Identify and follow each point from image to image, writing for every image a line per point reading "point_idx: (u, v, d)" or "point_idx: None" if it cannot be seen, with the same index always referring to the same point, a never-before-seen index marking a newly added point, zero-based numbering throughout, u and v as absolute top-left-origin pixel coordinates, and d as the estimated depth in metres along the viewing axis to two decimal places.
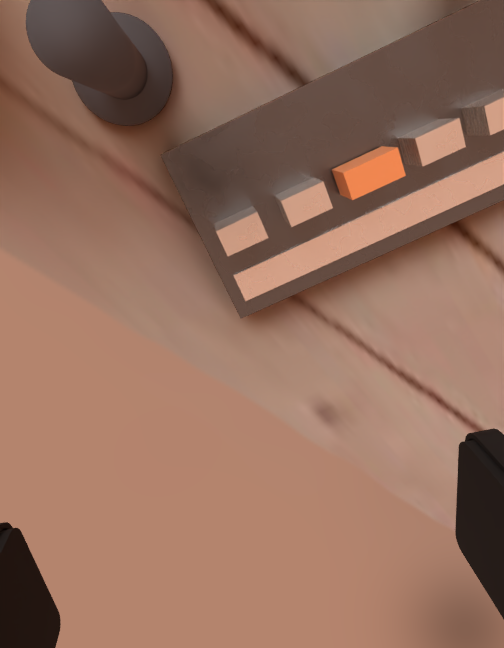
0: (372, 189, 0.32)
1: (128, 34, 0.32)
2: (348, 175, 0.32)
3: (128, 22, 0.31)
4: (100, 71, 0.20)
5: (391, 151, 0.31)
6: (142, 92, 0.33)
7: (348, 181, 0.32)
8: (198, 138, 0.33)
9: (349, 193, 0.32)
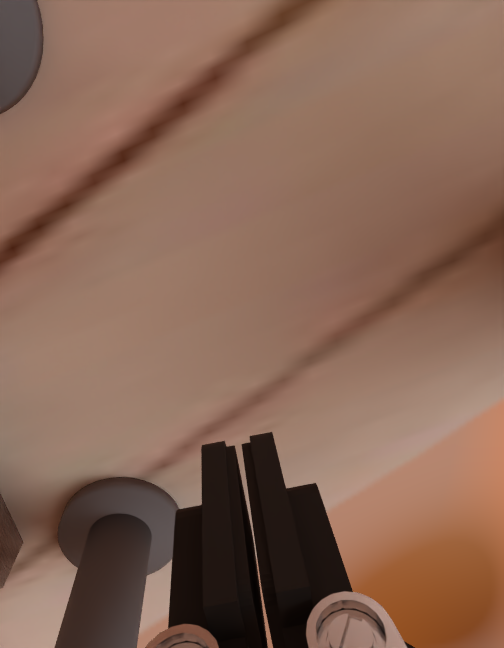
0: None
1: None
2: None
3: (16, 62, 0.17)
4: None
5: None
6: None
7: None
8: None
9: None
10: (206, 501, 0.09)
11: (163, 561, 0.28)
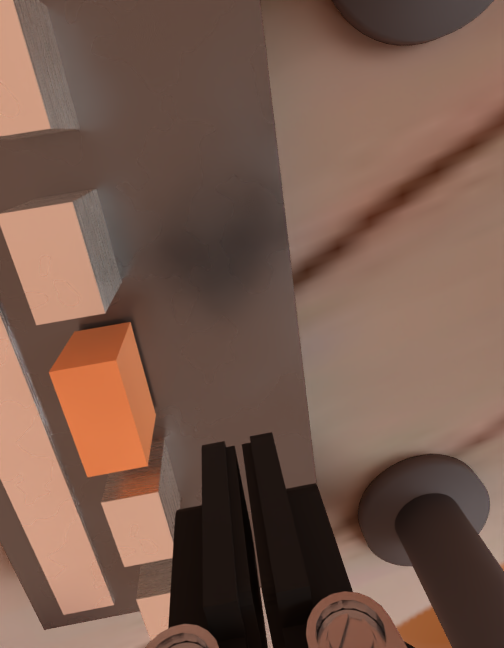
0: (67, 414, 0.14)
1: None
2: (107, 370, 0.14)
3: None
4: None
5: (142, 454, 0.15)
6: None
7: (94, 368, 0.14)
8: (260, 38, 0.14)
9: (66, 365, 0.14)
10: (206, 501, 0.09)
11: None
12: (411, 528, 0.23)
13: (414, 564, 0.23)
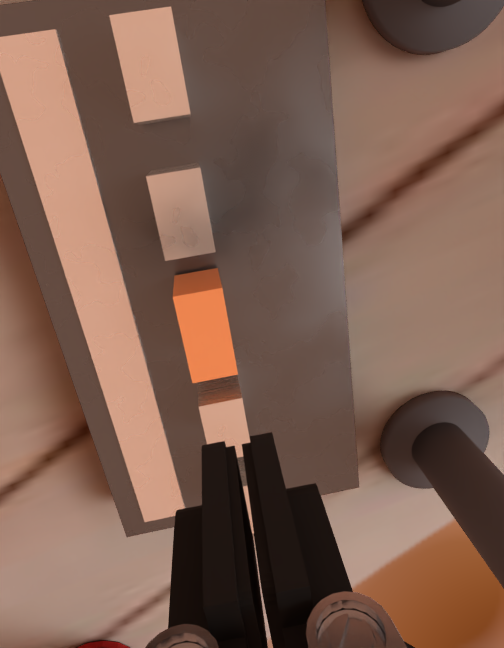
0: (183, 331, 0.19)
1: None
2: (215, 295, 0.19)
3: (495, 1, 0.21)
4: None
5: (234, 364, 0.20)
6: None
7: (205, 294, 0.18)
8: (325, 50, 0.19)
9: (184, 293, 0.19)
10: (206, 501, 0.09)
11: None
12: (426, 449, 0.28)
13: (430, 476, 0.28)
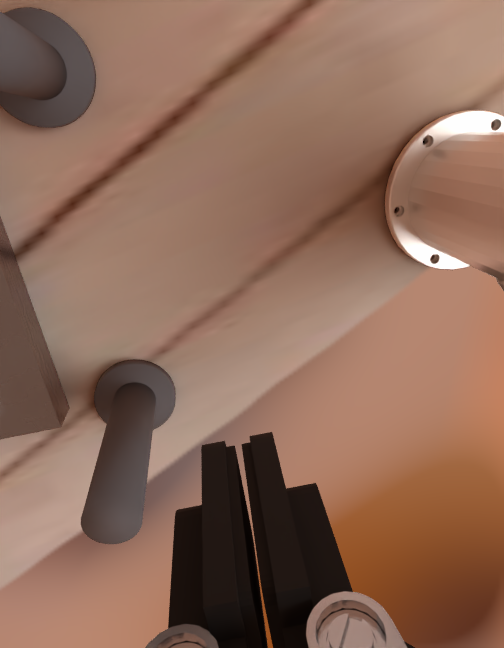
0: None
1: (71, 91, 0.31)
2: None
3: (82, 96, 0.32)
4: None
5: None
6: None
7: None
8: None
9: None
10: (206, 501, 0.09)
11: (163, 419, 0.42)
12: (113, 400, 0.39)
13: None
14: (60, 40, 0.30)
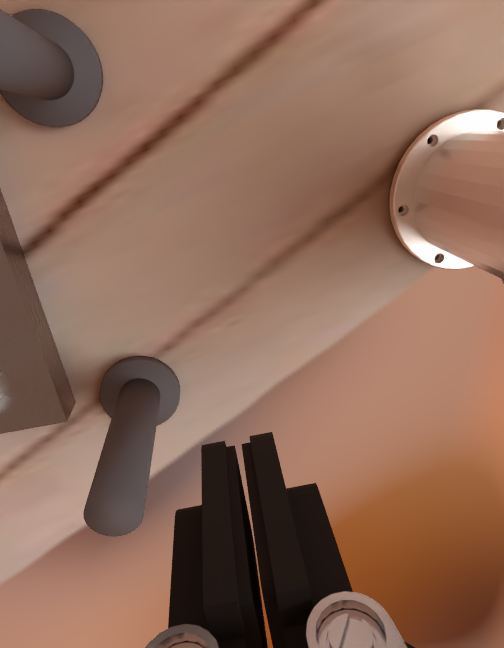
0: None
1: (79, 91, 0.32)
2: None
3: (89, 95, 0.32)
4: None
5: None
6: None
7: None
8: None
9: None
10: (206, 501, 0.09)
11: (167, 415, 0.43)
12: (118, 396, 0.40)
13: None
14: (68, 41, 0.31)
